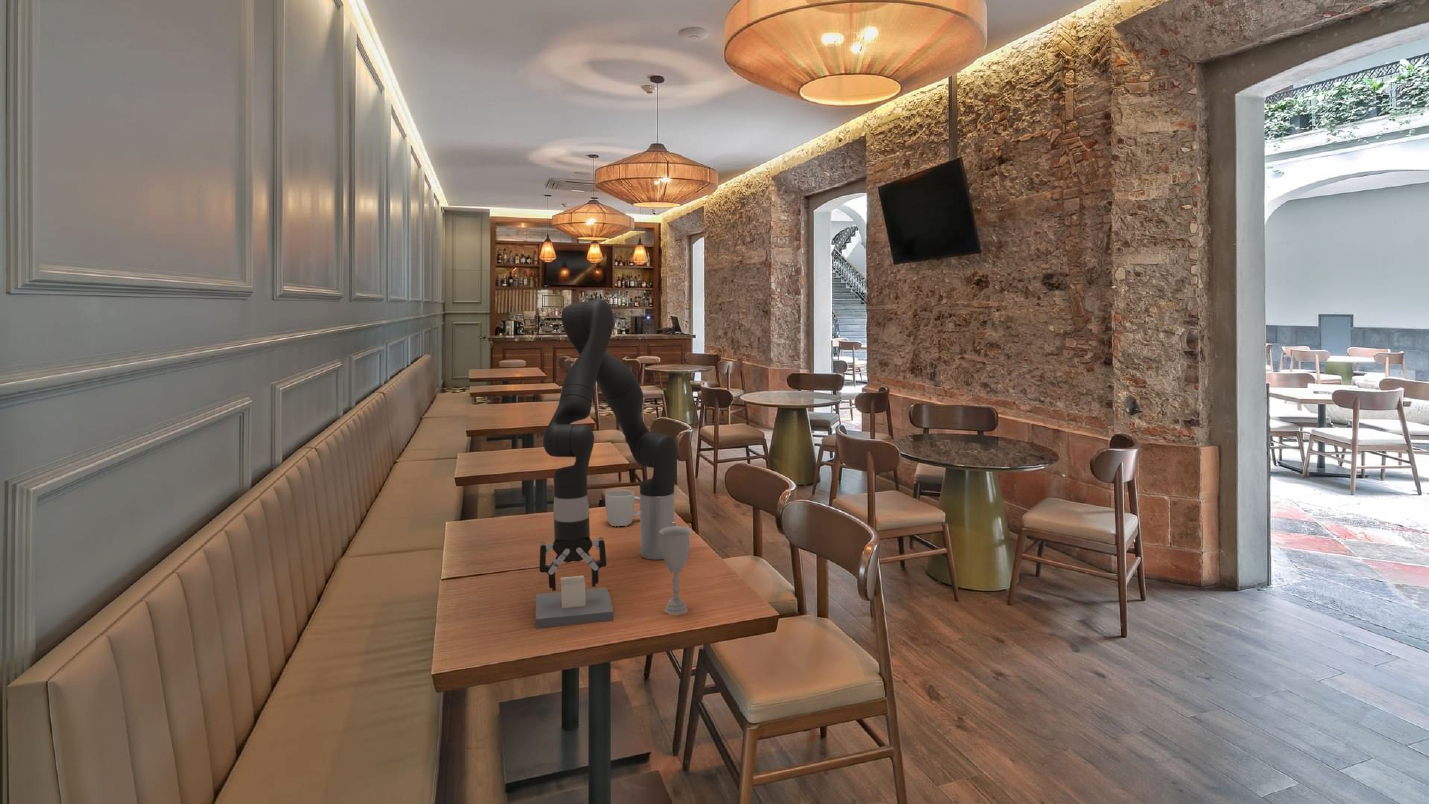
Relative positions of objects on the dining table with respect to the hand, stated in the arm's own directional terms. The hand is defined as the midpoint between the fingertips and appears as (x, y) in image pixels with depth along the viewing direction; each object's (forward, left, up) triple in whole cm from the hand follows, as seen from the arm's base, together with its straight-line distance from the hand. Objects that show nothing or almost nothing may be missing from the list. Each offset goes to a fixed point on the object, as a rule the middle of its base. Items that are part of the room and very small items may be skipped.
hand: (573, 587), depth 157 cm
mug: (-19, -65, -6) cm, 68 cm away
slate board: (0, 0, -5) cm, 5 cm away
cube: (0, 0, -3) cm, 3 cm away
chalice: (-22, +5, -6) cm, 23 cm away
